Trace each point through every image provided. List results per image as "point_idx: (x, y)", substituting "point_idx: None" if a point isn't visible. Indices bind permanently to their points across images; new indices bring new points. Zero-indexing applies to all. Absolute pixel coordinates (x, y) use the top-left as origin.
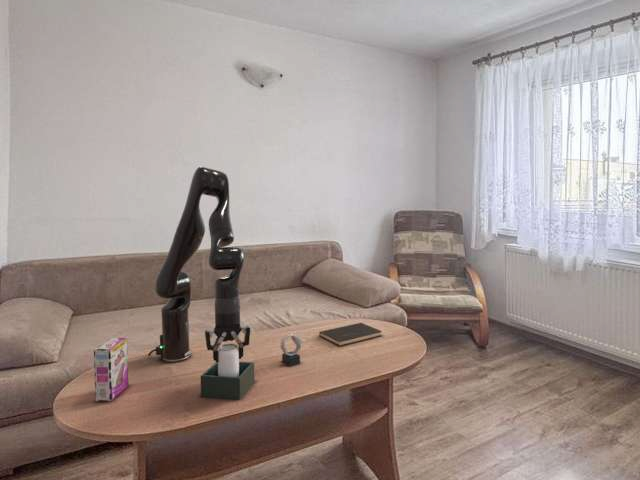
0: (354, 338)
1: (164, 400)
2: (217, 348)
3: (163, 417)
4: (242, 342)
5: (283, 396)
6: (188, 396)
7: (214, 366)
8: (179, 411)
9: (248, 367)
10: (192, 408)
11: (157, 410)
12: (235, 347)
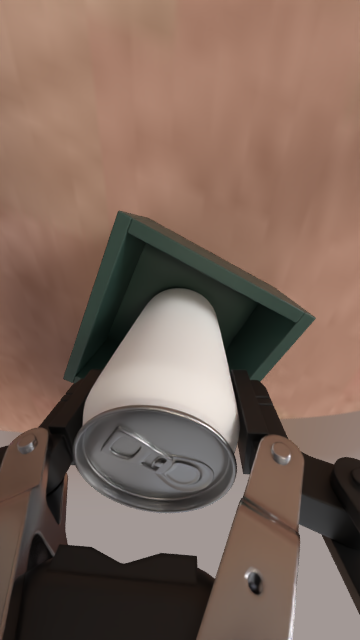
0: None
1: (6, 324)
2: (62, 495)
3: (38, 400)
4: (302, 511)
5: (319, 407)
6: (65, 322)
7: (107, 291)
8: (64, 389)
9: (266, 367)
10: None
11: (11, 368)
12: (216, 469)
